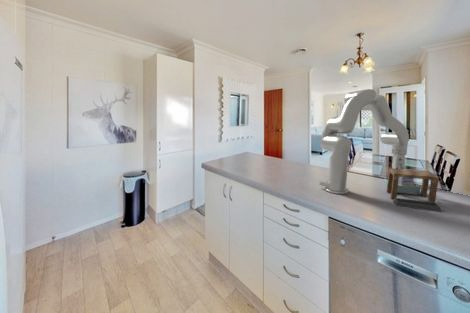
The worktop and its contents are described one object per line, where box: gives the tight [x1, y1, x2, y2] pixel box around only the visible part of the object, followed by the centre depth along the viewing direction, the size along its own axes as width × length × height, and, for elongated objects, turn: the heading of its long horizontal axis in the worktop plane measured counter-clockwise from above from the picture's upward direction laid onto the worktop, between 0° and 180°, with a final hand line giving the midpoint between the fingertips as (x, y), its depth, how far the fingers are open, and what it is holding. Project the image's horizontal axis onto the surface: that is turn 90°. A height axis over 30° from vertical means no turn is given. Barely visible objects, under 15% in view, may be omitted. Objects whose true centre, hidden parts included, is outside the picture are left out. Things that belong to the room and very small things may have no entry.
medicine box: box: [398, 177, 415, 186], centre depth 121 cm, size 8×4×9 cm, turn 102°
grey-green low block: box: [383, 178, 421, 196], centre depth 127 cm, size 12×25×7 cm, turn 154°
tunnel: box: [386, 167, 440, 203], centre depth 110 cm, size 17×13×14 cm
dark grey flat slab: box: [393, 197, 442, 212], centre depth 101 cm, size 16×6×2 cm, turn 64°
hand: (395, 180), depth 138 cm, fingers closed on grey-green low block, 2 cm apart
